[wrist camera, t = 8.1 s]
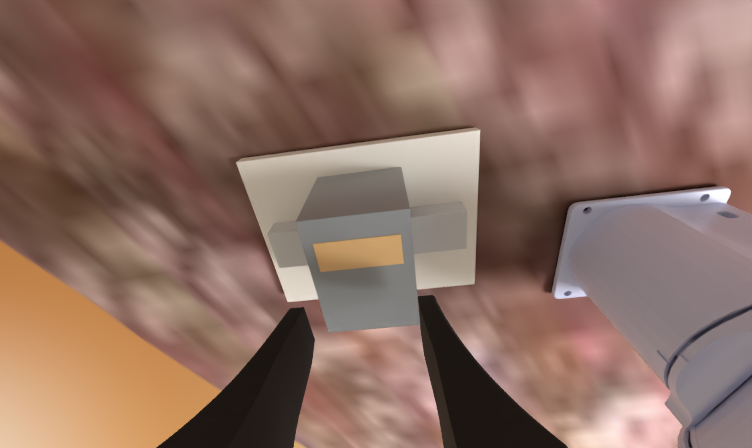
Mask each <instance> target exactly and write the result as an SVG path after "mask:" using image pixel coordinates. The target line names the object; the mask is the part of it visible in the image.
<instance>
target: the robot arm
mask: <svg viewBox="0 0 752 448" xmlns="http://www.w3.org/2000/svg"><path fill="white" fill-rule="evenodd" d="M730 193H731V191H730V189H728V188H726V187H723V186H717V187H708V188H699V189H690V190H681V191H673V192H664V193H655V194H646V195H637V196H628V197H619V198H611V199H602V200H593V201H584V202H577V203H574V204H572V205H571V206H570V207H569V209H568V213H567V218H566V223H565V228H564V233H563V238H562V243H561V248H560V253H559V258H558V263H557V268H556V273H555V278H554V283H553V288H552V294H553V296H554V297H555V298H557V299H561V298H572V297H583V296H588V297H589V298H590V299H591V301H592V302H593V303H594V304H595V305H596V306H597V307H598V309H599V310H600V311H601V312H602V313H603V314H604V316H605V317H606V318H607V319H608V320H609V321H610V322H611V324H612V325H613V326H614V327H615V328H616V329H617V330H618V332H619V333H620V334H621V335H622V336H623V337H624V338H625V340H626V341H627V342H628V343H629V344H630V345H631V346H632V348H633V349H634V350H635V351H636V352H637V353H638V354H639V356H640V357H641V358H642V359H643V360H644V361H645V362H646V364H647V365H648V366H649V367H650V368H651V369H652V370H653V372H654V373H655V374H656V375H657V376H658V377H659V378H660V380H661V381H662V382H663V383H664V384H665V385H666V386H667V388H668V389H669V390H670V392H671V393H670V396H669V398H668V399H667V401H666V402H665V405H666V406H667V408H668V409H669V410H670V411H671V412H672V414H673V415H674V416H675V417H676V418H677V420H678V421H679V422H680V423H681V424H682V426H683V427H682V428H681V430H680V433H679V435H678V448H752V214H750V213H748V212H745V211H743V210H740V209H738V208H736V207H733V206H731V205H729V204H726V202H727V200H728V198H729V196H730ZM587 207H588V208H587ZM585 208H587V210H586V211H583V210H584V209H585ZM566 291H567V292H566ZM418 305H419V316H420V328H421V336H422V343H423V350H424V356H425V360H426V364H427V368H428V372H429V376H430V381H431V385H432V389H433V393H434V397H435V401H436V405H437V410H438V415H439V420H440V426H441V432H442V439H443V445H444V448H568V447H567V446H566V445H565V444H564V443H563V442H561V441H560V440H559V439H558V438H556V437H555V436H554V435H553V434H551V433H550V432H549V431H548V430H547V429H545V428H544V427H543V426H542V425H541V424H540V423H538V422H537V421H536V420H535V419H534V418H533V417H532V416H530V415H529V414H528V413H527V412H526V411H525V410H524V409H523V408H521V407H520V406H519V405H518V404H517V403H516V402H515V401H514V400H513V399H512V398H511V397H510V396H509V395H508V394H507V393H506V392H505V391H504V390H503V389H502V388H501V387H500V386H499V385H498V384H497V383H496V382H495V381H494V380H493V379H492V378H491V377H490V376H489V374H488V373H487V372H486V371H485V370H484V369H483V368H482V367H481V365H480V364H479V363H478V362H477V361H476V360H475V358H474V357H473V356H472V355H471V353H470V352H469V351H468V349H467V348H466V347H465V345H464V344H463V343H462V341H461V340H460V339H459V337H458V336H457V334H456V333H455V331H454V330H453V328H452V327H451V326H450V324H449V322H448V321H447V319H446V317H445V316H444V314H443V312H442V311H441V309H440V307H439V305H438V303H437V301H436V298H435V297H434V296H433V295H428V296H418ZM314 341H315V339H314V336H313V333H312V330H311V327H310V324H309V321H308V318H307V315H306V312H305V309H304V307H302V308H291V309H289V311H288V312H287V313H286V315H285V316H284V317H283V319H282V320H281V321H280V323H279V324H278V325H277V327H276V328H275V329H274V331H273V332H272V333H271V335H270V336H269V337H268V339H267V340H266V341H265V342H264V344H263V345H262V346H261V348H260V349H259V350H258V351H257V353H256V354H255V355H254V356H253V357H252V358H251V360H250V361H249V362H248V363H247V364H246V366H245V367H244V368H243V369H242V370H241V371H240V372H239V374H238V375H237V376H236V377H235V378H234V379H233V380H232V381H231V382H230V383H229V384H228V385H227V386H226V387H225V388H224V389H223V390H222V391H221V392H220V394H219V395H217V397H216V398H214V399H213V400H212V401H211V402H210V403H209V404H208V405H207V406H206V407H204V408H203V409H202V410H201V411H200V412H199V413H198V414H197V415H196V416H195V417H194V418H192V419H191V420H190V421H189V422H188V423H186V424H185V425H184V426H183V427H182V428H181V429H179V430H178V431H177V432H176V433H174V434H173V435H172V436H171V437H169V438H168V439H167V440H166V441H164V442H163V443H162V444H161V445H159V446H158V447H157V448H293V447H294V440H295V433H296V428H297V423H298V418H299V414H300V410H301V406H302V402H303V398H304V394H305V389H306V385H307V381H308V377H309V373H310V369H311V365H312V358H313V350H314Z"/></svg>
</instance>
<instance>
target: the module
mask: <svg viewBox="0 0 752 448" xmlns="http://www.w3.org/2000/svg"><path fill="white" fill-rule="evenodd" d="M295 223H296V226H297V229H298V233H299V236H300V239H301V243H302V246H303V249H304V253H305V256H306V259H307V263H308V266H309V269H310V272H311V276H312V279H313V282H314V286H315V289H316V292H317V296H318V299H319V302H320V306H321V309H322V312H323V316H324V319H325V322H326V326H327V329H328V332H329V333H331V332H342V331H353V330H365V329H376V328H387V327H399V326H410V325H420V321H419V309H418V297H417V286H416V274H415V262H414V251H413V239H412V227H411V216H410V207H409V202H408V197H407V192H406V188H405V183H404V178H403V173H402V169H401V167H397V168H389V169H381V170H373V171H365V172H357V173H349V174H341V175H333V176H325V177H317V179H316V181H315V183H314V185H313V187H312V189H311V191H310V193H309V195H308V197H307V199H306V201H305V204H304V206H303V208H302V210H301V212H300V214H299V216H298V218H297V220H296V222H295Z"/></svg>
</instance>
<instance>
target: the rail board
mask: <svg viewBox="0 0 752 448" xmlns="http://www.w3.org/2000/svg"><path fill="white" fill-rule="evenodd" d="M479 148H480V130H479V129H478V128H476V127H474V128H466V129H459V130H451V131H444V132H436V133H429V134H421V135H414V136H406V137H398V138H391V139H383V140H376V141H368V142H361V143H353V144H346V145H338V146H331V147H323V148H316V149H308V150H301V151H293V152H285V153H278V154H270V155H263V156H255V157H248V158H241V159H240V160H239V161H237V162H236V164H237V167H238V169H239V172H240V175H241V177H242V180H243V183H244V185H245V188H246V191H247V194H248V196H249V199H250V202H251V204H252V207H253V210H254V212H255V215H256V218H257V220H258V223H259V226H260V229H261V231H262V234H263V237H264V239H265V242H266V245H267V247H268V250H269V253H270V255H271V258H272V261H273V264H274V266H275V269H276V272H277V274H278V277H279V280H280V282H281V285H282V288H283V290H284V293H285V296H286V299H287V301H288V302H293V301H304V300H314V299H318V296H317V292H316V289H315V286H314V282H313V279H312V276H311V272H310V269H309V266H308V263H307V259H306V256H305V253H304V249H303V246H302V243H301V239H300V236H299V233H298V229H297V226H296V223H295V222H296V220H297V218H298V216H299V214H300V212H301V210H302V208H303V206H304V204H305V201H306V199H307V197H308V195H309V193H310V191H311V189H312V187H313V185H314V183H315V181H316V179H317V177H325V176H333V175H341V174H349V173H357V172H365V171H373V170H381V169H389V168H397V167H401V169H402V173H403V178H404V183H405V188H406V192H407V197H408V202H409V207H410V216H411V227H412V239H413V251H414V262H415V274H416V286H417V289H428V288H438V287H448V286H459V285H469V284H475V259H476V231H477V204H478V176H479Z"/></svg>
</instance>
